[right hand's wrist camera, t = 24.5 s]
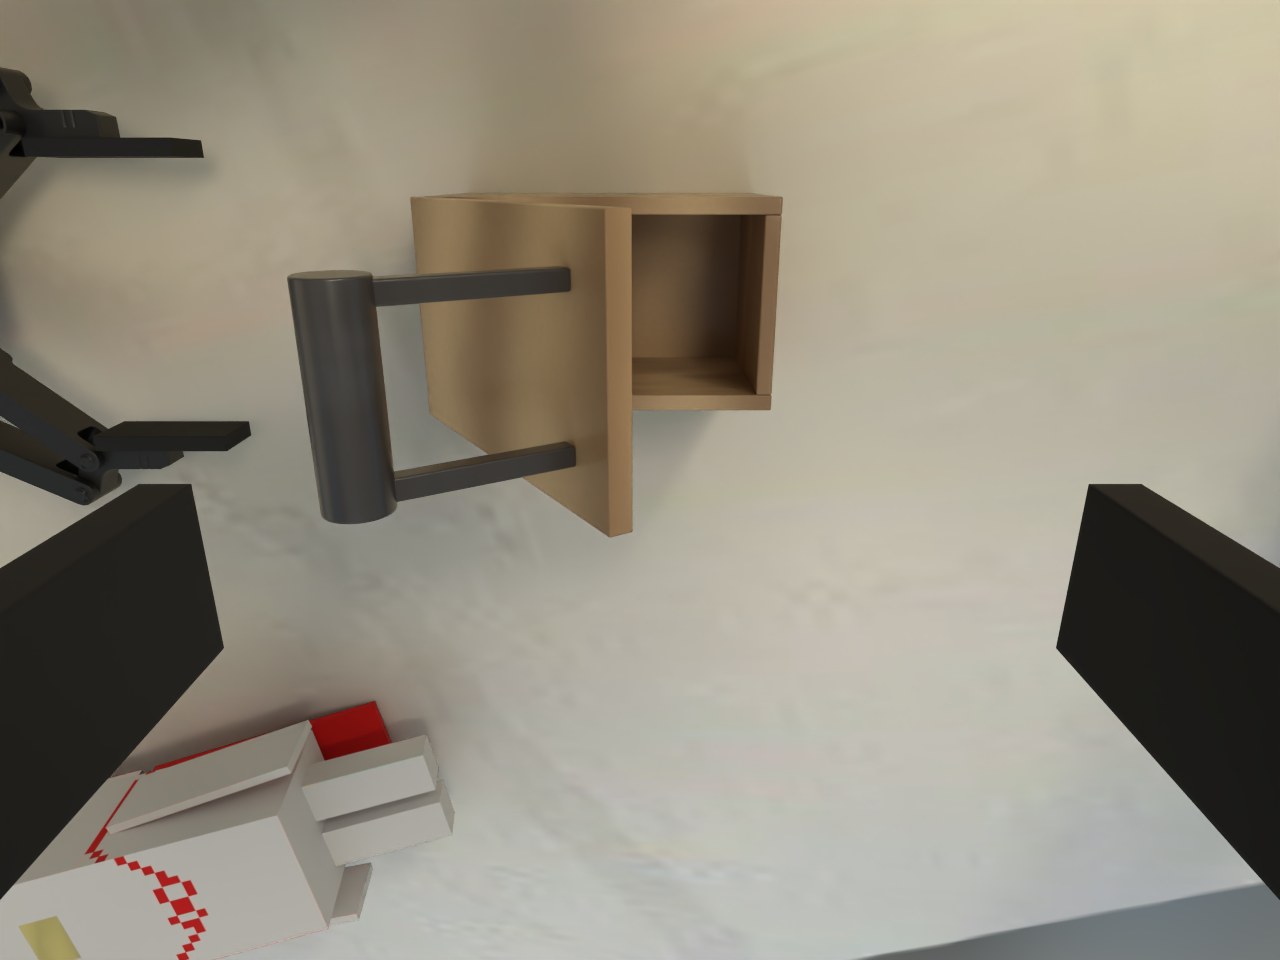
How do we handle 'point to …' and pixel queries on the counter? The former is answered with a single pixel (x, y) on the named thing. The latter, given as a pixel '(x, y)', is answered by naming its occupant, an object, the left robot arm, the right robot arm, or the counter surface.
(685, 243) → the chest
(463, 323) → the lid
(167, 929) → the toy
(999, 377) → the counter surface
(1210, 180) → the counter surface
